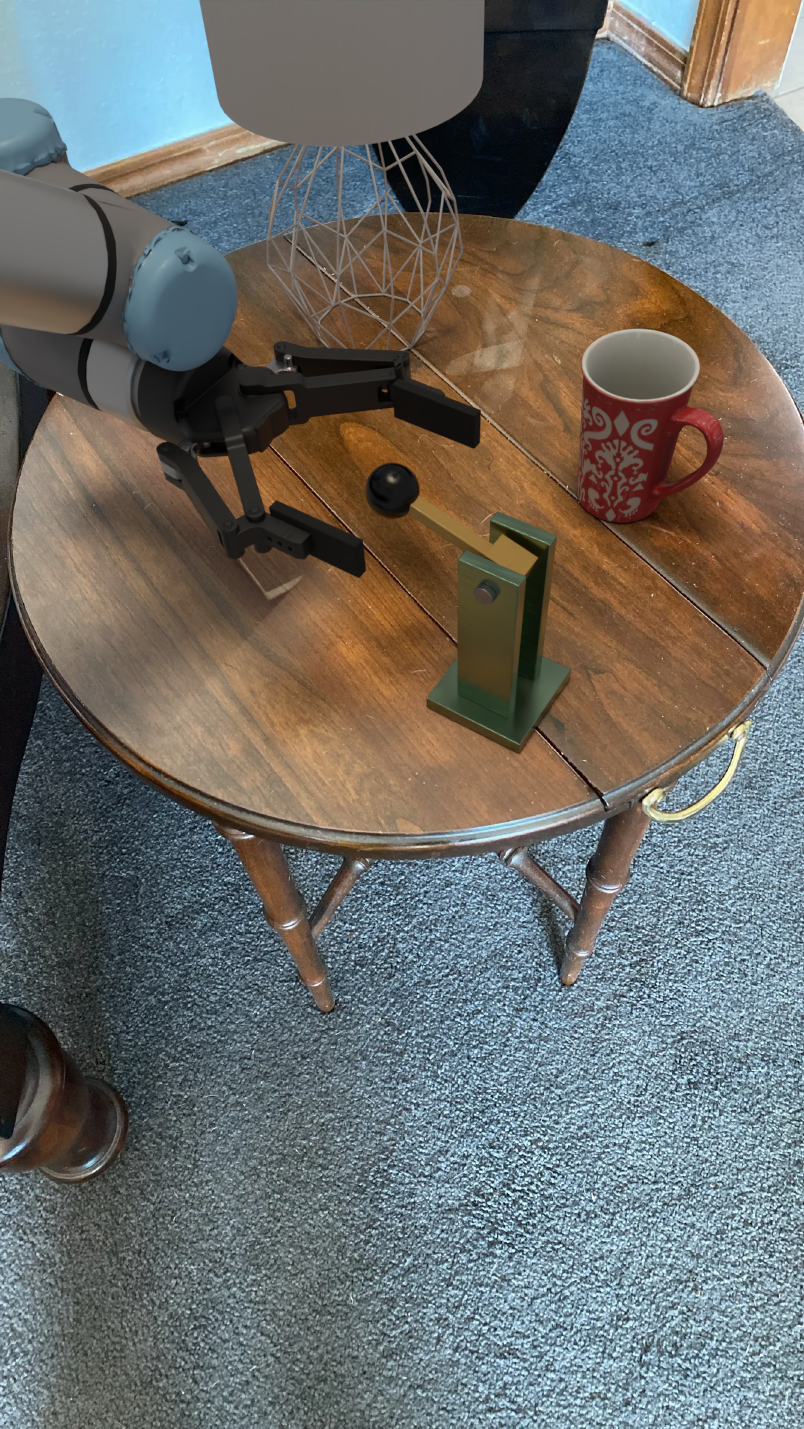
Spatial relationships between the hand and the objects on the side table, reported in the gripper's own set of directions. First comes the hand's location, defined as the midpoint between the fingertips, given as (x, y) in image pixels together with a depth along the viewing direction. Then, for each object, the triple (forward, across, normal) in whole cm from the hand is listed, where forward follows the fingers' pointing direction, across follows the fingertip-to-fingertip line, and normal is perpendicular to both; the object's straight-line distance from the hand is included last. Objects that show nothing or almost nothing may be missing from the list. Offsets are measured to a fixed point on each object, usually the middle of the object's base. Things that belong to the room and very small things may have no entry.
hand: (422, 491), depth 61 cm
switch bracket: (+6, 0, -18) cm, 19 cm away
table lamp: (-29, -34, -18) cm, 48 cm away
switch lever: (+1, 0, -4) cm, 4 cm away
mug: (+6, -24, -18) cm, 30 cm away
